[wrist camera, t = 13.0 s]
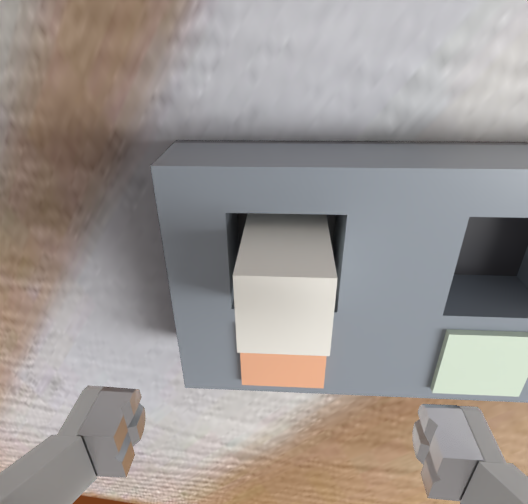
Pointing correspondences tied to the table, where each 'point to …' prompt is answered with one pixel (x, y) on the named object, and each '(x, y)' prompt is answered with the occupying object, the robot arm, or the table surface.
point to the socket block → (360, 263)
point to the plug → (285, 285)
